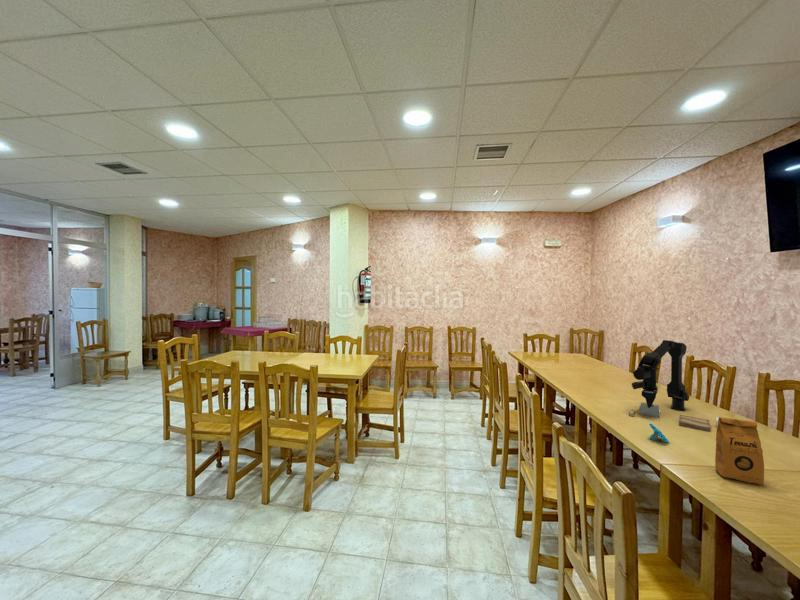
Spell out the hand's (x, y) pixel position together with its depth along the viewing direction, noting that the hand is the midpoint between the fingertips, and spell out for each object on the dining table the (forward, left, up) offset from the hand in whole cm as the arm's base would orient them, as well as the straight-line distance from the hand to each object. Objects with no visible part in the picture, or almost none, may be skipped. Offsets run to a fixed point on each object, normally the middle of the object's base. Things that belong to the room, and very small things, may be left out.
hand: (649, 405), depth 190 cm
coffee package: (+58, +31, -6) cm, 66 cm away
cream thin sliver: (-1, +30, -6) cm, 31 cm away
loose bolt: (+5, -8, -6) cm, 11 cm away
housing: (0, 0, -6) cm, 6 cm away
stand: (+2, +19, -5) cm, 20 cm away
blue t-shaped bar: (+38, +6, -6) cm, 38 cm away
